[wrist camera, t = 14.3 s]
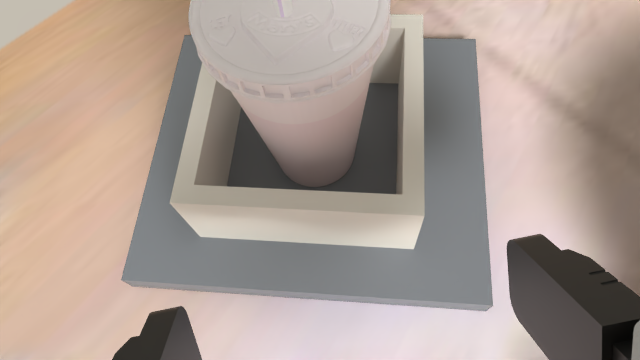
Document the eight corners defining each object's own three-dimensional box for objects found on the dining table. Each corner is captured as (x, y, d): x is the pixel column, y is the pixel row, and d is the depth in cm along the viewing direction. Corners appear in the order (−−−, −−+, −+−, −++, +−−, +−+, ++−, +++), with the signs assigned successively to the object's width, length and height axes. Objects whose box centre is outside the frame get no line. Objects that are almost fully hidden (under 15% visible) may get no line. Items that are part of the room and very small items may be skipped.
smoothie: (239, 207, 23) (83, -51, 10) (263, 94, 25) (164, -221, 13) (377, 220, 22) (393, -45, 9) (387, 101, 25) (410, -227, 12)
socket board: (132, 286, 23) (73, 253, 18) (191, 49, 29) (158, -22, 24) (485, 311, 21) (521, 282, 16) (470, 54, 27) (493, -22, 22)
